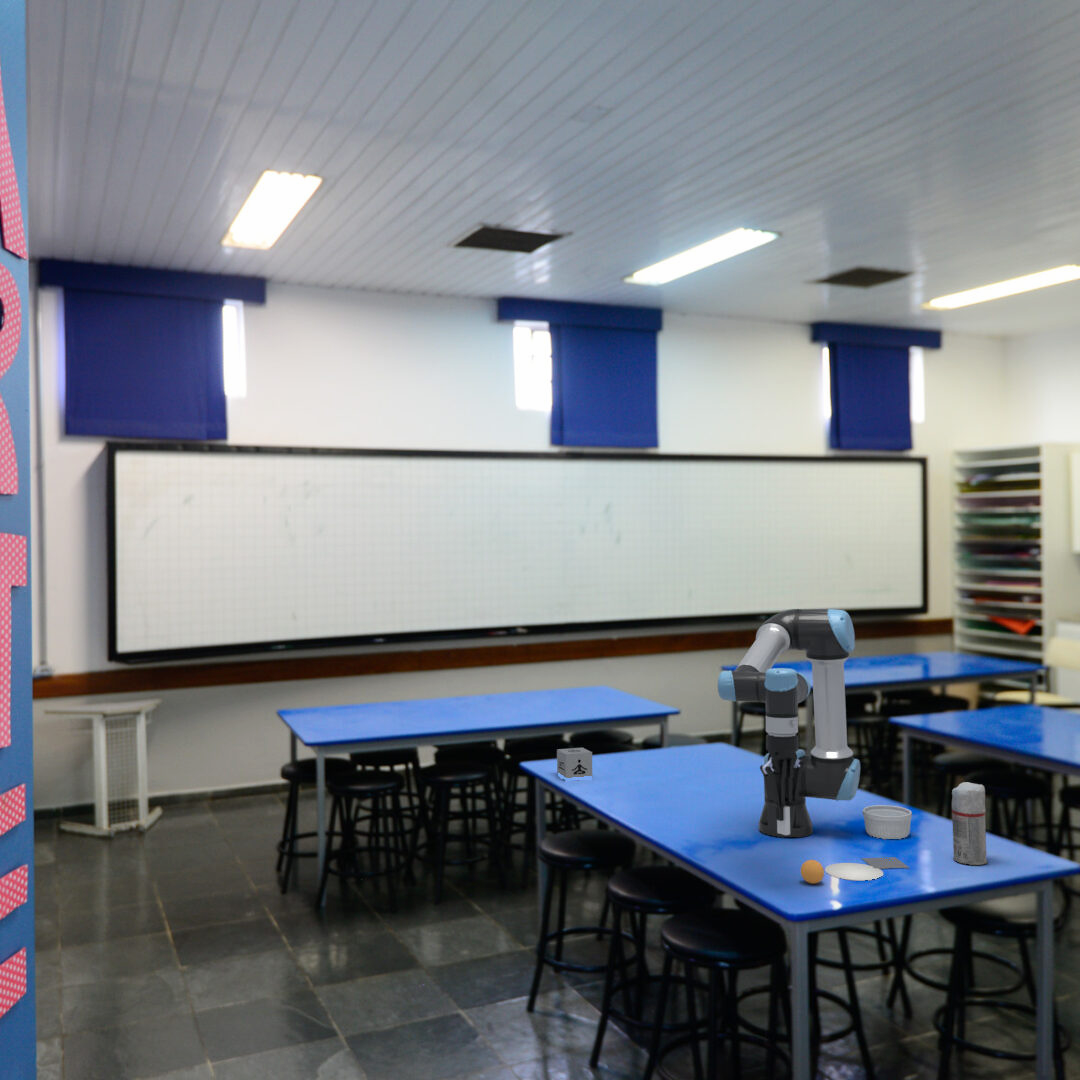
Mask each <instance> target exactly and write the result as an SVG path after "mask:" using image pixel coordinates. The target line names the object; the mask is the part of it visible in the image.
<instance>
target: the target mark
mask: <svg viewBox="0 0 1080 1080" xmlns="http://www.w3.org/2000/svg"><path fill="white" fill-rule="evenodd" d="M874 868H875V869H874ZM825 871H826V872H825ZM824 872H825V873H826V874H827V873H828V875H829V876H831V877H833V876H834V877H833V878H837V879H840V878H841V879H840V880H847V881H857V882H858V881H859V882H860V881H861V882H862V881H863V882H864V881H865V880H868V881H873V880H872V879H875V880H878V879H877V878H879V877H881V876H882V877H883V876H884V871H883V870H882V869H878V868H876V867H872V866H870V865H868V864H864V863H857V862H856V863H855V862H839V863H838V862H837V863H832V864H829V865H827V866H826V867H825V869H824ZM882 877H881V878H882ZM879 879H880V878H879Z"/></svg>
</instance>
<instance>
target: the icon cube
mask: <svg viewBox="0 0 1080 1080" xmlns="http://www.w3.org/2000/svg"><path fill="white" fill-rule="evenodd" d="M556 771H557V772H558V773H560V774H561V775H563V776H564V777H566V778H572V777H584V776H592V777H593V751H590V750H588V749H586V748H584V747H572V748H571V747H570V748H559V749H556ZM557 772H556V773H557Z"/></svg>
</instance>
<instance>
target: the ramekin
mask: <svg viewBox="0 0 1080 1080" xmlns="http://www.w3.org/2000/svg"><path fill="white" fill-rule="evenodd" d="M912 813H913V812H912V810H910V809H908V808H906V807H902V806H897V805H890V804H889V805H888V804H887V805H886V804H883V805H882V804H877V805H876V804H875V805H869V806H866V807H863V809H862V815H863V820H864V827H865V832H866V833H867V834H868V835H869V836H870V837H872V836H873V838H875V837H876V839H879V838H882V839H881V840H886V839H899V840H902V839H901V838H904V839H906V838H907V837H908V836H909V835H910V831H911V822H912V821H911V820H912V818H913V815H912ZM905 837H906V838H905Z"/></svg>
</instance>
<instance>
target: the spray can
mask: <svg viewBox="0 0 1080 1080" xmlns="http://www.w3.org/2000/svg"><path fill="white" fill-rule="evenodd" d="M951 791H952V792H951V795H952V796H951V797H952V799H951V816H952V817H951V818H952V822H951V823H952V845H953V847H952V848H953V852H952V853H953V860H954V861H955V862H956V861H957V863H958V862H959V864H962V863H963V864H962V865H966V864H969V865H968V866H981V865H985V864H988V860H987V837H986V836H987V835H986V830H987V829H986V811H987V810H986V789H985V786H984V785H983V784H978V783H972V782H968V781H967V782H965V781H964V782H961V783H959V785H958V786H956V787H954V788H953V789H952V790H951Z"/></svg>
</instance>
